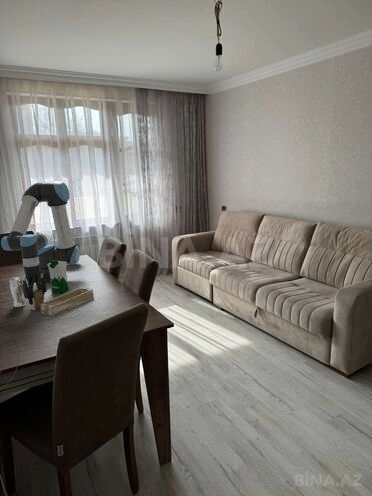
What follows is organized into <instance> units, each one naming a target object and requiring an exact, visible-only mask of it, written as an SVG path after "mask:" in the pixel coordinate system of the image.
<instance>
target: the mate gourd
mask: <svg viewBox="0 0 372 496" xmlns="http://www.w3.org/2000/svg"><path fill="white" fill-rule="evenodd" d="M72 241H74V237H72ZM74 242H75V244H76V246H79V248H80V249H81V247H80V244H79V242H76V241H74ZM80 265H81V263H79V262H77V263H76V264H66V269H76V268H79V267H81V266H80ZM78 266H79V267H78ZM75 267H76V268H75Z"/></svg>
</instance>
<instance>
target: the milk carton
mask: <svg viewBox="0 0 372 496" xmlns="http://www.w3.org/2000/svg"><path fill="white" fill-rule="evenodd" d="M47 265H48V268H49V271H50V278H51V283H50V285H51V294H54V295H63V294H66V293H68V292H70V287H69V282H68V274H67V268H66V265H67V262H63V261H58V260H51V263H50V264H47ZM65 292H66V293H65Z"/></svg>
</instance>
